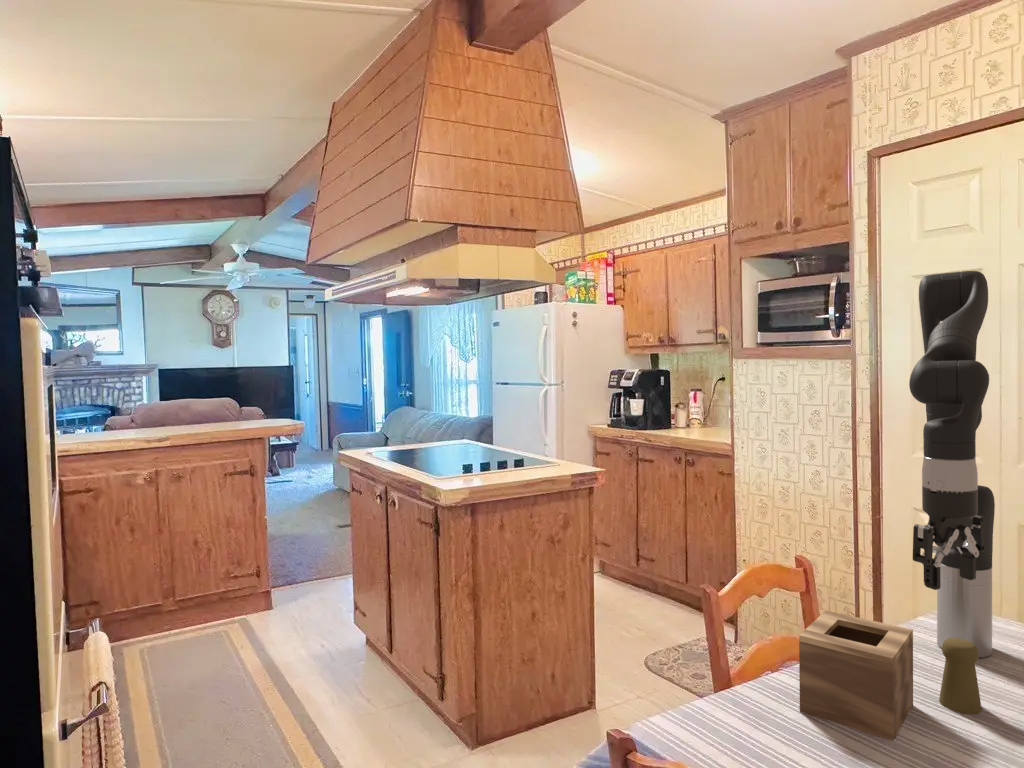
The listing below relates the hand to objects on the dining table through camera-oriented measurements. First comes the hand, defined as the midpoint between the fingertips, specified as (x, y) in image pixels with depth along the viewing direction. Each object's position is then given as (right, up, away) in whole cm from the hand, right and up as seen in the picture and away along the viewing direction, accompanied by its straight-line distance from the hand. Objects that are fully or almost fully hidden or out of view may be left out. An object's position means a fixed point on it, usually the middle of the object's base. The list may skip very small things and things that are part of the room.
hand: (950, 583), depth 109 cm
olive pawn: (+5, -22, +5) cm, 23 cm away
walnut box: (-13, -23, +5) cm, 26 cm away
